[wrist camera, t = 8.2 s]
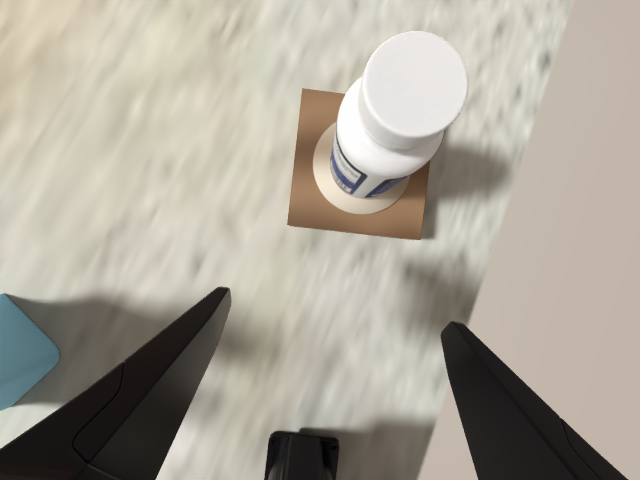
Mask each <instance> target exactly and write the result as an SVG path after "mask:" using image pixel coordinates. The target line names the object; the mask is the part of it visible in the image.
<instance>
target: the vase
mask: <svg viewBox="0 0 640 480" xmlns="http://www.w3.org/2000/svg"><path fill="white" fill-rule="evenodd" d="M59 358H60V357H59V350H58V349H57V347H56V346H55V344H54V343H53V342H52V341H51V340H50V339H49V338H48V337H47V336H46V335H45V334H44V333H43V332H42V331H41V330H40V329H39V328H38V327H37V326H36V325H35V324H34V323H33V322H32V321H31V320H30V319H29V318H28V317H27V316H26V315H25V314H24V313H23V312H22V311H21V310H20V309H19V308H18V307H17V306H16V305H15V304H14V303H13V302H12V301H11V300H10V299H9V298H8V297H7V296H6V295H5V294H4V293H3V294H1V295H0V411H1V410H4V409H6V408H8V407H10V406H12V405H13V404H15V403H16V402H17V401H18V400H19V399H20V398H21V397H22V396H23V395H25V394H26V393H27V392H28V391H29V390H30V389H31V388H32V387H33V386H34V385H35V384H36V383H37V382H38V381H40V380H41V379H42V378H43V377H44V376H45V375H46V374H47V373H48V372H49V371H50V370H51V369H52V368H53V367H54V366H56V364H57V363H58V362H59Z"/></svg>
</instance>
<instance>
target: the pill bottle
mask: <svg viewBox="0 0 640 480" xmlns="http://www.w3.org/2000/svg"><path fill="white" fill-rule="evenodd" d="M467 93H468V75H467V70H466V67H465V64H464V62H463V60H462V58H461V56H460V55H459V53H458V52H457V51H456V49H455V48H454V47H453V46H452V45H451V44H450V43H449V42H447V41H446V40H444V39H443V38H441V37H439V36H437V35H434V34H432V33H428V32H422V31H411V32H405V33H401V34H398V35H395V36H393V37H391V38H389V39H388V40H387V41H385V42H384V43H383V44H381V45H380V46H379V47H378V48H377V49H376V51H375V52H374V53H373V54H372V56H371V58H370V59H369V61H368V63H367V66H366V68H365V71H364V74H363V76H362V77H360V78H359V79H358V80H357V81H356V82H355V83H354V84H353V85H352V86H351V87H350V88H349V90H348V91H347V93H346V94H345V96H344V98H343V101H342V103H341V106H340V109H339V113H338V118H337V123H336V130H335V135H334V141H333V147H332V152H331V158H330V170H331V175H332V177H333V180H334V182H335V183H336V185H337V186H338V187H339V188H340V189H341V190H342V191H343V192H344V193H346V194H347V195H349V196H352V197H355V198H360V199H367V198H373V197H376V196H378V195H381V194H382V193H384V192H386V191H387V190H389V189H390V188H392V187H393V186H395V185H396V184H398V183H399V182H401V181H402V180H404V179H405V178H407V177H408V176H410V175H411V174H413V173H414V172H416V171H417V170H418V169H420V168H421V167H422V166H423V165H425V164H426V163H427V162H428V161H429V160H430V159H431V158H432V156H433V155H434V154H435V152H436V151H437V149H438V147H439V145H440V143H441V141H442V138H443V135H444V130H445V129H446V128H448V127H449V126H450V125H451V124H452V123H453V122H454V121H455V119H456V118H457V117H458V115H459V114H460V112H461V111H462V109H463V106H464V104H465V101H466V98H467Z"/></svg>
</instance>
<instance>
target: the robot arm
mask: <svg viewBox="0 0 640 480" xmlns="http://www.w3.org/2000/svg"><path fill="white" fill-rule="evenodd" d="M230 307H231V293H230V289H229V288H227V287H217V288H216V289H215V290H213V291H212V292H211V293H210V294H208V295H207V296H206V297H205V298H203V299H202V300H201V301H199V302H198V303H197V304H196V305H194V306H193V307H192V308H191V309H189V310H188V311H187V312H185V313H184V314H183V315H182V316H180V317H179V318H178V319H176V320H175V321H174V322H173V323H171V324H170V325H169V326H168V327H166V328H165V329H164V330H162V331H161V332H160V333H159V334H157V335H156V336H155V337H154V338H152V339H151V340H150V341H148V342H147V343H146V344H145V345H143V346H142V347H141V348H140V349H138V350H137V351H136V352H134V353H133V354H132V355H131V356H129V357H128V358H127V359H125V361H124V362H122V363H120V364H119V365H118V366H116V367H115V368H114V369H113V370H111V371H110V372H109V373H107V374H106V375H105V376H103V377H102V378H101V379H99V380H98V381H97V382H96V383H94V384H93V385H92V386H90V387H89V388H88V389H86V390H85V391H83V392H82V393H81V394H79V395H78V396H76V397H75V398H73V399H72V400H71V401H69V402H68V403H66V404H65V405H64V406H62V407H61V408H59V409H58V410H56V411H55V412H53V413H52V414H51V415H49V416H48V417H46V418H45V419H43V420H42V421H40V422H39V423H37V424H36V425H35V426H33V427H32V428H30V429H29V430H27V431H26V432H24V433H23V434H21V435H20V436H18V437H17V438H16V439H14V440H13V441H11V442H10V443H8V444H7V445H5V446H4V447H2V448H1V449H0V480H155V479H156V477H157V475H158V473H159V471H160V469H161V466H162V464H163V462H164V460H165V458H166V456H167V453H168V451H169V449H170V447H171V445H172V443H173V440H174V438H175V436H176V434H177V432H178V430H179V428H180V425H181V423H182V421H183V419H184V417H185V415H186V412H187V410H188V408H189V406H190V404H191V402H192V399H193V397H194V395H195V393H196V391H197V389H198V386H199V384H200V382H201V380H202V378H203V376H204V373H205V371H206V369H207V367H208V365H209V363H210V360H211V358H212V356H213V354H214V352H215V350H216V347H217V345H218V342H219V339H220V336H221V334H222V331H223V328H224V325H225V322H226V319H227V316H228V313H229V310H230ZM441 342H442V347H443V352H444V358H445V363H446V368H447V373H448V377H449V381H450V384H451V388H452V391H453V395H454V398H455V401H456V405H457V408H458V411H459V415H460V419H461V422H462V425H463V429H464V432H465V436H466V439H467V442H468V446H469V449H470V453H471V456H472V460H473V463H474V466H475V470H476V473H477V477H478V480H628V479H627V478H626V477H624V476H623V475H622V474H621V473H620V472H619V471H618V470H617V469H616V468H614V467H613V466H612V465H611V464H610V463H609V462H608V461H607V460H606V459H604V458H603V457H602V456H601V455H600V454H599V453H598V452H597V451H596V450H595V449H593V448H592V447H591V446H590V445H589V444H588V443H587V442H586V441H585V440H584V439H583V438H582V437H581V436H580V435H579V434H577V433H576V432H575V431H574V430H573V429H572V428H571V427H570V426H569V425H568V424H567V423H566V422H565V421H564V420H563V419H561V418H560V417H559V416H558V415H557V413H556V412H554V411H553V410H552V409H551V408H550V407H549V406H548V405H547V404H546V403H545V402H544V401H543V400H542V399H541V398H540V397H539V396H538V395H537V394H536V393H535V392H534V391H533V390H532V389H531V388H529V387H528V386H527V385H526V384H525V383H524V382H523V381H522V380H521V379H520V378H519V377H518V376H517V375H516V374H515V373H514V372H513V371H512V370H511V369H510V368H509V367H508V366H507V365H506V364H504V363H503V362H502V361H501V360H500V359H499V358H498V357H497V356H496V355H495V354H494V353H493V352H492V351H491V350H490V349H489V348H488V347H487V346H486V345H485V344H484V343H483V342H482V341H480V339H478V338H477V337H476V336H475V335H474V334H473V333H472V332H471V331H470V330H469V329H468V328H467V327H466V326H465V325H464V324H463V323H460V322H454V321H452V322H450V323H449V324H448V325H447V326H446V327H445V328H444V330H443V331H442V332H441ZM273 439H275V440H276V441H274V440H273ZM332 445H335V446H332ZM338 455H339V441H338V440H337V439H335V438H327V437H316V436H305V435H294V434H283V433H272V434H271V435H270V438H269V443H268V452H267V461H266V470H265V478H264V480H336V472H337V463H338Z"/></svg>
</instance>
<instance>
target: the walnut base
mask: <svg viewBox="0 0 640 480" xmlns="http://www.w3.org/2000/svg"><path fill="white" fill-rule="evenodd" d="M344 96H345V94H341V93H333V92H326V91H318V90H310V89H303V88H302V97H301V106H300V115H299V124H298V133H297V142H296V151H295V160H294V169H293V178H292V187H291V196H290V205H289V214H288V223H287V225H289V226H295V227H304V228H313V229H321V230H330V231H339V232H347V233H356V234H365V235H374V236H382V237H391V238H400V239H410V240H420V239H421V231H422V222H423V214H424V206H425V198H426V189H427V181H428V173H429V165H430V160H429V161H428V162H427V163H426V164H425V165H423V166H422V167H421V168H420V169H418V170H417V171H416V172H414V173H413V174H411V175H410V176H408V177H407V178H405V179H404V180H402V181H401V182H399V183H398V184H396V185H395V186H393V187H392V188H390V189H389V190H387V191H386V192H384V193H382V194H381V195H378V196H376V197H373V198H367V199H360V198H355V197H352V196H349V195H347V194H346V193H344V192H343V191H342V190H341V189H340V188H339V187H338V186H337V185H336V183H335V182H334V180H333V177H332V175H331V170H330V158H331V152H332V147H333V141H334V135H335V130H336V123H337V118H338V113H339V109H340V106H341V103H342V101H343V98H344Z"/></svg>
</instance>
